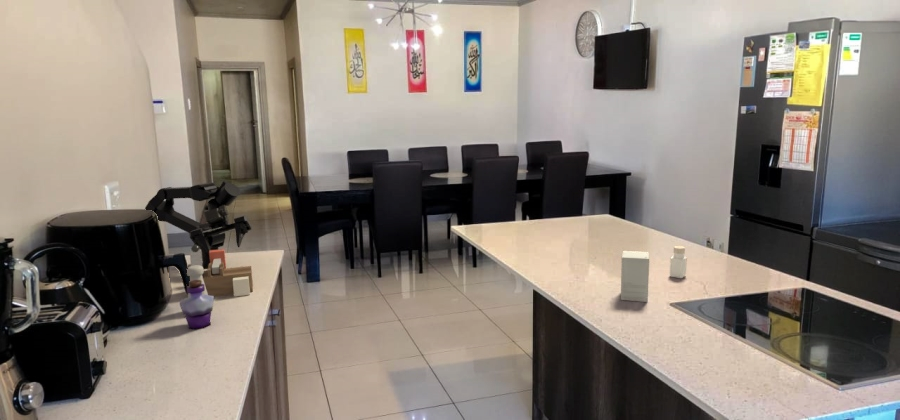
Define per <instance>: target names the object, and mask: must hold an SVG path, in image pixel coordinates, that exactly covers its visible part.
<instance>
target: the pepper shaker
mask: <svg viewBox="0 0 900 420" xmlns="http://www.w3.org/2000/svg"><path fill="white" fill-rule="evenodd" d="M685 250H686V247H685V246H682V245H674V246H673V255H672V256H671V257H670V261H669V264H670V265H669V276H670V277H671V278H677V279H683V278H684V277H686V276H687V262H688V258H687V256H685V252H686V251H685Z"/></svg>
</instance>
